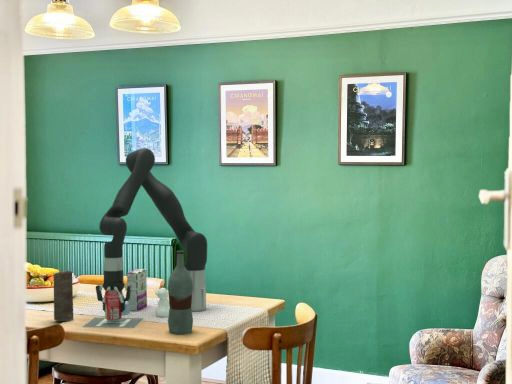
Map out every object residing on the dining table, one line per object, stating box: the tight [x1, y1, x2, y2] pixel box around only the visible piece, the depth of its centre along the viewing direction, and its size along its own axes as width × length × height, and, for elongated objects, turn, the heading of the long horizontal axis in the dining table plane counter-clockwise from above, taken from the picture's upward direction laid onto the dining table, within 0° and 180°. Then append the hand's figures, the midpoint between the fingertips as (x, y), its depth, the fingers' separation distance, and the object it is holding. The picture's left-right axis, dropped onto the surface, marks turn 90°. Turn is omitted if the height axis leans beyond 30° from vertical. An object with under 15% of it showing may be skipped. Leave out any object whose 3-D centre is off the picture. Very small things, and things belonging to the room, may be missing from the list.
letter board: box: [82, 317, 145, 329], centre depth 257 cm, size 20×16×1 cm
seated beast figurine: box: [154, 287, 170, 318], centre depth 269 cm, size 10×9×12 cm
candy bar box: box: [126, 268, 148, 312], centre depth 285 cm, size 11×5×16 cm, turn 168°
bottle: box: [167, 250, 194, 335], centre depth 244 cm, size 9×9×30 cm
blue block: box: [122, 301, 131, 316], centre depth 273 cm, size 5×5×5 cm
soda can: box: [104, 290, 123, 321], centre depth 256 cm, size 6×6×12 cm
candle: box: [52, 270, 74, 322], centre depth 261 cm, size 8×7×20 cm
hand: (113, 311), depth 257 cm, fingers open, 5 cm apart
